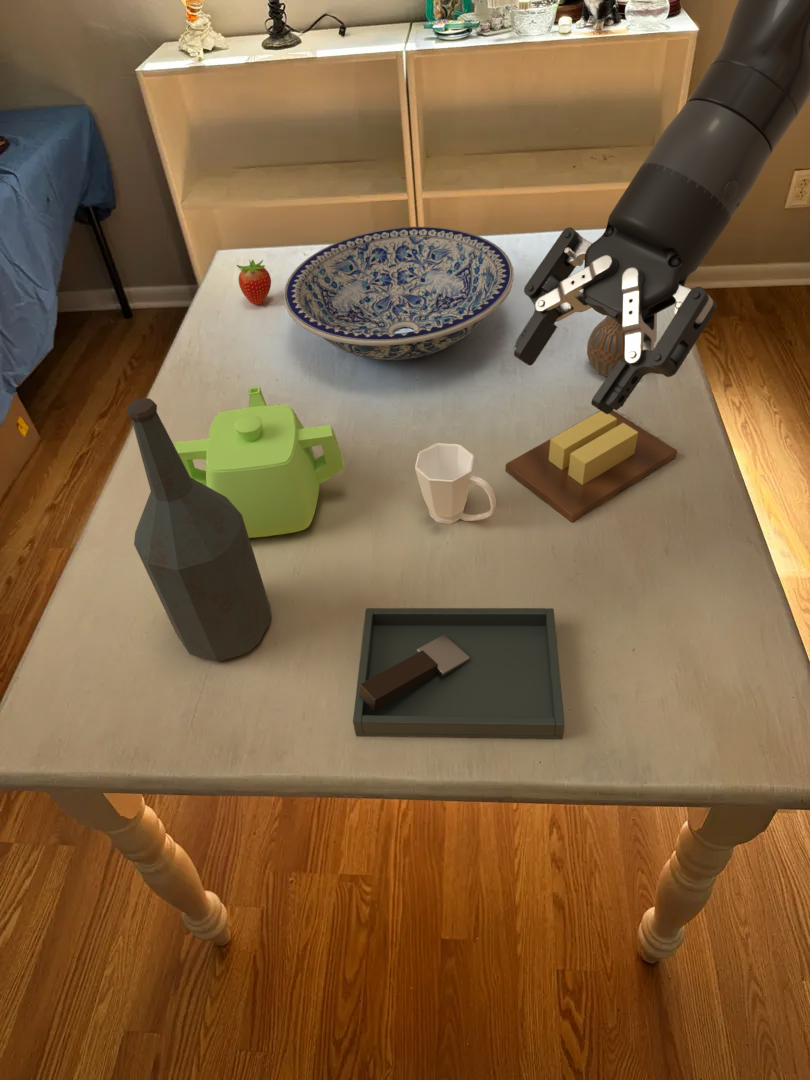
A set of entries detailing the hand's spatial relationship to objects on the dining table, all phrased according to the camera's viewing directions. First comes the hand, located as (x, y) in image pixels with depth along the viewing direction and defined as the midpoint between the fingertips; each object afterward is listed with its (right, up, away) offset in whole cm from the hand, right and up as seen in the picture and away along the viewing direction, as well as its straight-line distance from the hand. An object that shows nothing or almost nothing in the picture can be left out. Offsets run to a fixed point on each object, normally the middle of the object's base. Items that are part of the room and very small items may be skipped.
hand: (558, 384), depth 61 cm
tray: (-7, -26, +18) cm, 32 cm away
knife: (-7, -23, +20) cm, 31 cm away
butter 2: (+13, -3, +37) cm, 39 cm away
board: (+12, -2, +39) cm, 41 cm away
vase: (+18, +13, +53) cm, 57 cm away
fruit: (-37, +28, +72) cm, 85 cm away
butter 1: (+10, -1, +39) cm, 40 cm away
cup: (-6, -9, +34) cm, 36 cm away
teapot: (-29, -6, +39) cm, 49 cm away
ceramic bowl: (-12, +20, +63) cm, 67 cm away
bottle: (-32, -22, +25) cm, 46 cm away
